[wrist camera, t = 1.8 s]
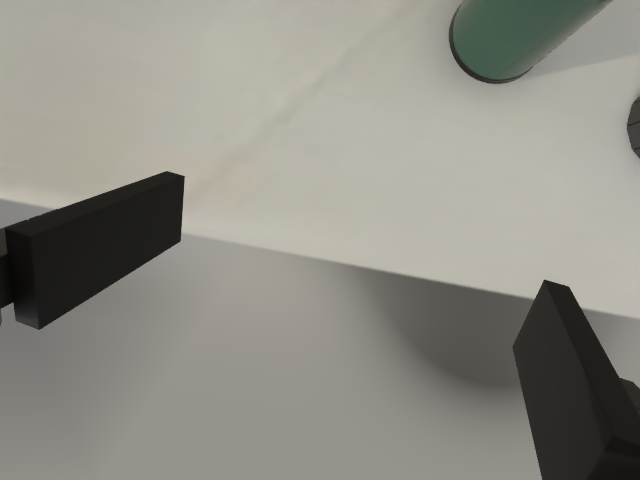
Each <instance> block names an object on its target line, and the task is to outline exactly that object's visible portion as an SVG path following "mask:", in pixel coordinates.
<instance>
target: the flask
mask: <svg viewBox="0 0 640 480" xmlns="http://www.w3.org/2000/svg"><path fill="white" fill-rule="evenodd" d="M612 1H613V0H464V1H463V2H462V4H461V5H460V6H459V8H458V9H457V11H456V13H455V15H454V16H453V19H452V21H451V25H450V30H449V42H450V48H451V51H452V54H453V56H454V58H455V60H456V61H457V63H458V64H459V66H460V67H461V68H462V69H463V70H464V71H465V72H466V73H467V74H469V75H470V76H472V77H473V78H475V79H477V80H480V81H482V82H486V83H493V84H501V83H507V82H511V81H513V80H516V79H518V78H520V77H521V76H523V75H524V74H525V73H526V72H528V71H529V70H530V69H531V68H532V67H533V66H534V65H535V64H537V63H538V62H539V61H540V60H541V59H543V58H544V57H545V56H546V55H547V54H549V53H550V52H551V51H552V50H553V49H555V48H556V47H557V46H558V45H560V44H561V43H562V42H563V41H564V40H566V39H567V38H568V37H569V36H570V35H572V34H573V33H574V32H575V31H577V30H578V29H579V28H580V27H581V26H583V25H584V24H585V23H586V22H587V21H589V20H590V19H591V18H592V17H593V16H595V15H596V14H597V13H598V12H600V11H601V10H602V9H603V8H604V7H606V6H607V5H608V4H609V3H610V2H612Z"/></svg>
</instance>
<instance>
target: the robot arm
mask: <svg viewBox="0 0 640 480" xmlns="http://www.w3.org/2000/svg"><path fill="white" fill-rule="evenodd" d="M184 178H185V176H182V175H178V174H175V173H171V172H168V171H166V172H163V173H160V174H157V175H154V176H152V177H149V178H146V179H143V180H140V181H137V182H134V183H132V184H129V185H126V186H123V187H120V188H117V189H114V190H112V191H109V192H106V193H103V194H100V195H97V196H94V197H92V198H89V199H86V200H83V201H80V202H77V203H74V204H72V205H69V206H66V207H63V208H60V209H56V210H53V211H50V212H47V213H45V214H42V215H40V216H36V217H33V218H30V219H29V220H24V221H21V222H18V223H16V224H13V225H10V226H7V227H4V228H2V229H0V325H1V322H2V317H1V308H3V307H5V306H7V305H9V304H11V303H12V302H14V310H15V318H16V321H18V322H20V323H23V324H25V325H28V326H31V327H33V328H36V329H39V330H40V329H42V328H43V327H44V326H46V325H48V324H49V323H51V322H53V321H54V320H56V319H57V318H59V317H61V316H62V315H64V314H65V313H67V312H69V311H70V310H72V309H73V308H75V307H77V306H78V305H80V304H81V303H83V302H84V301H86V300H88V299H89V298H91V297H93V296H94V295H96V294H97V293H99V292H101V291H102V290H104V289H105V288H107V287H109V286H110V285H112V284H113V283H115V282H116V281H118V280H120V279H121V278H123V277H124V276H126V275H128V274H129V273H131V272H132V271H134V270H136V269H137V268H139V267H140V266H142V265H143V264H145V263H147V262H148V261H150V260H152V259H153V258H155V257H156V256H158V255H159V254H161V253H163V252H164V251H165V250H167V249H169V248H171V247H172V246H174V245H175V244H177V243H179V242H180V240H181V226H182V210H183V194H184ZM513 352H514V355H515V361H516V365H517V369H518V373H519V378H520V383H521V387H522V392H523V396H524V400H525V404H526V409H527V413H528V418H529V423H530V427H531V431H532V436H533V440H534V445H535V449H536V454H537V458H538V463H539V467H540V472H541V476H542V480H640V389H639V388H638V387H637V386H636V385H635V384H634V383H633V382H631V381H628V380H625V379H622V378H619V377H618V375H617V373H616V371H615V369H614V368H613V366H612V364H611V362H610V360H609V358H608V357H607V355H606V353H605V351H604V349H603V348H602V346H601V344H600V342H599V340H598V338H597V337H596V335H595V333H594V331H593V330H592V328H591V326H590V324H589V322H588V320H587V319H586V317H585V315H584V313H583V311H582V309H581V308H580V306H579V304H578V302H577V300H576V299H575V297H574V295H573V293H572V291H571V290H570V288H569V287H568V286H565V285H561V284H558V283H554V282H551V281H547V280H544V281H543V283H542V285H541V288H540V290H539V292H538V294H537V296H536V298H535V300H534V302H533V305H532V307H531V309H530V311H529V313H528V315H527V317H526V320H525V322H524V324H523V326H522V328H521V330H520V332H519V334H518V336H517V338H516V341H515V343H514V345H513Z"/></svg>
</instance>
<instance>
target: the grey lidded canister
mask: <svg viewBox="0 0 640 480" xmlns="http://www.w3.org/2000/svg"><path fill="white" fill-rule="evenodd" d="M627 126H628V127H627V130H628V134H629V138H630V142H631V146H632V149H635V150H634V152H635V153H636V154H637V156H638V157H639V158H640V97H639V98H638V99H637V100H636V101H635V102H634V104H633V105H632V109H631V112H630V116H629V119H628V123H627Z"/></svg>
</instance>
